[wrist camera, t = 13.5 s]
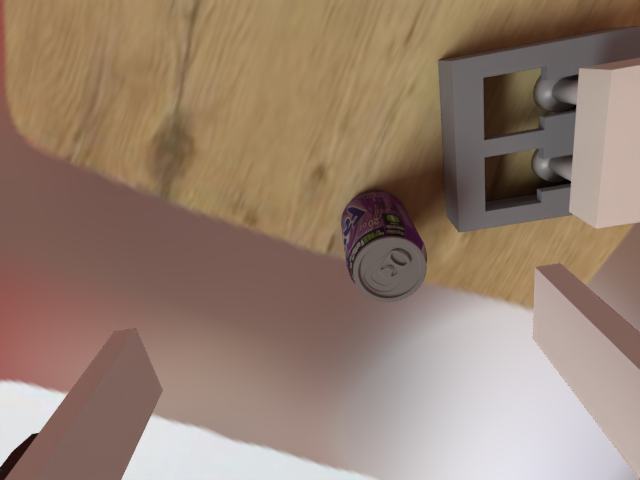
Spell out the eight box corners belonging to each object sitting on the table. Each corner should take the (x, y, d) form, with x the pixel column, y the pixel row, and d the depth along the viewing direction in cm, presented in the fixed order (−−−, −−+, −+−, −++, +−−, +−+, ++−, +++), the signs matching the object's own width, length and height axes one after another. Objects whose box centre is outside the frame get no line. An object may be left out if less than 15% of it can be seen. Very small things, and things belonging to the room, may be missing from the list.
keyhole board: (446, 216, 46) (459, 232, 42) (438, 60, 40) (451, 61, 36) (596, 192, 45) (624, 206, 41) (612, 28, 39) (647, 25, 35)
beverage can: (366, 176, 44) (382, 216, 33) (418, 212, 46) (449, 261, 35) (328, 227, 47) (331, 280, 36) (378, 259, 48) (396, 320, 37)
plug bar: (531, 65, 40) (611, 70, 29) (580, 57, 40) (680, 57, 29) (528, 186, 45) (596, 228, 34) (571, 179, 44) (654, 219, 33)
